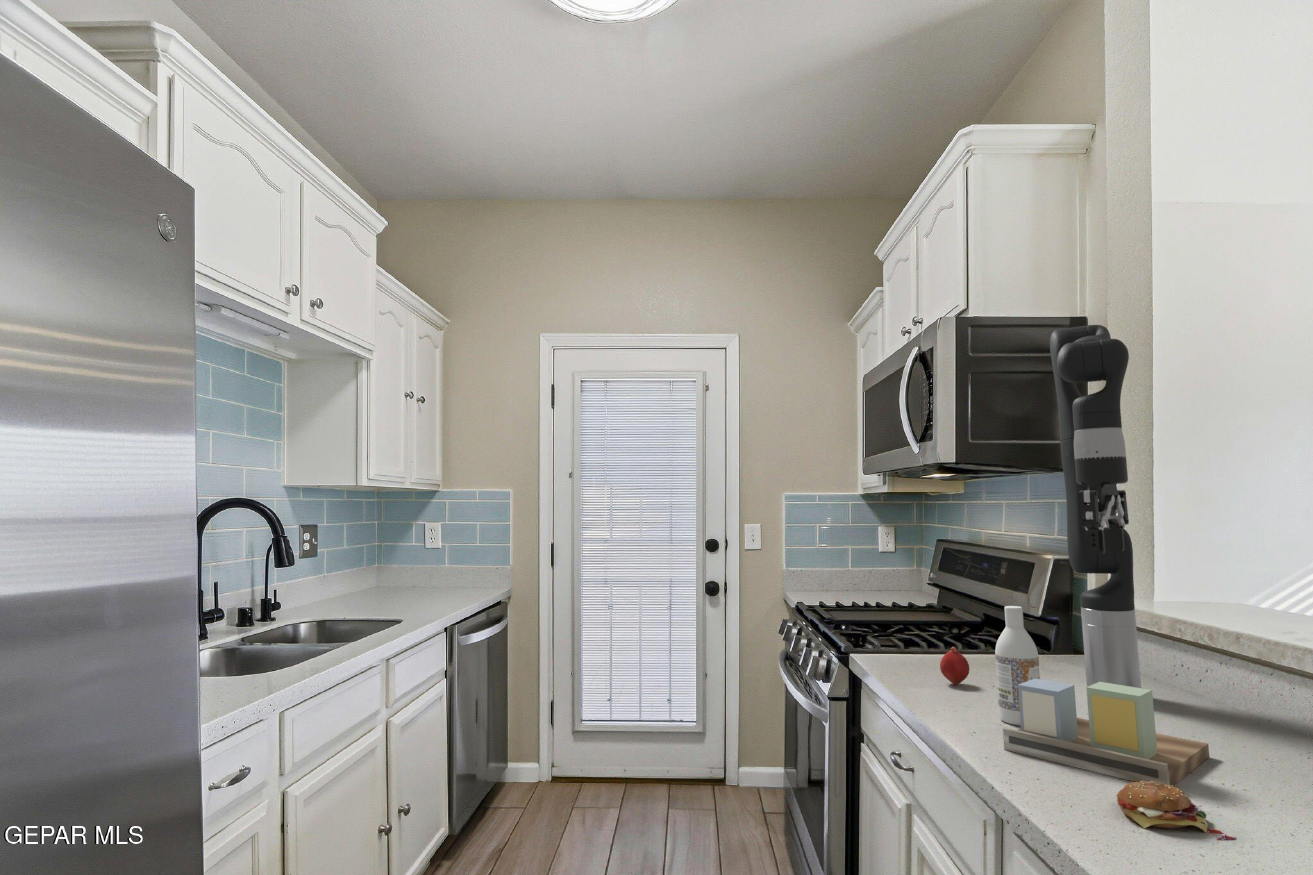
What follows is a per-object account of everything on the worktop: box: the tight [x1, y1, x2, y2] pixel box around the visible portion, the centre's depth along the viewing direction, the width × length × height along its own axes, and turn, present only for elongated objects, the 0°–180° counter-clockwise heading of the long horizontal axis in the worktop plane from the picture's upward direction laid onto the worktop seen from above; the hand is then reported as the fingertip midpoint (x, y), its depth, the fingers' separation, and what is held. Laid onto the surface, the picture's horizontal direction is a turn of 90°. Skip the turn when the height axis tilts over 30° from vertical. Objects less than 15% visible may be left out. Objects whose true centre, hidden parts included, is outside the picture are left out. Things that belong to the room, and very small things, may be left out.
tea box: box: [1086, 682, 1157, 759], centre depth 107 cm, size 5×7×9 cm
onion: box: [939, 646, 970, 686], centre depth 155 cm, size 6×6×8 cm
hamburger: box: [1116, 781, 1237, 841], centre depth 88 cm, size 14×14×6 cm
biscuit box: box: [1018, 678, 1078, 742], centre depth 114 cm, size 6×6×8 cm
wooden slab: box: [1002, 717, 1210, 787], centre depth 112 cm, size 19×22×3 cm
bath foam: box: [994, 605, 1041, 727], centre depth 130 cm, size 7×7×20 cm
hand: (1107, 552), depth 122 cm, fingers open, 8 cm apart
